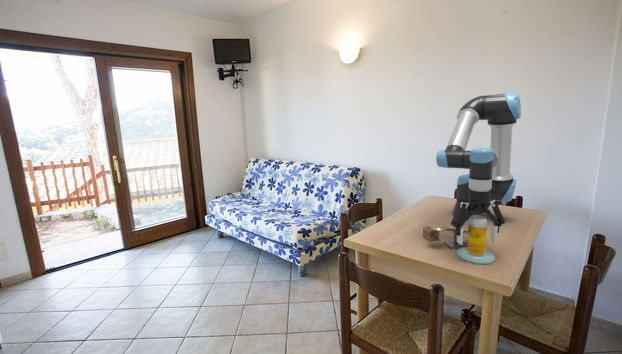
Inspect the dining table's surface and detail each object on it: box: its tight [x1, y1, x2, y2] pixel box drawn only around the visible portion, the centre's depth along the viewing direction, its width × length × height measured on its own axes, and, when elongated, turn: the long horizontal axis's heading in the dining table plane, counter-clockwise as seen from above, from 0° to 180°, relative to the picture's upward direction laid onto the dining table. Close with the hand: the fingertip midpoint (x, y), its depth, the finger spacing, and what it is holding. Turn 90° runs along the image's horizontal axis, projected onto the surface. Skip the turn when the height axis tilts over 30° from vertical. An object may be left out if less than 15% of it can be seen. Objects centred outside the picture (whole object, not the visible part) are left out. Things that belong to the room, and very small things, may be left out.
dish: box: [456, 247, 496, 265], centre depth 115 cm, size 13×13×1 cm
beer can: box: [467, 215, 488, 256], centre depth 114 cm, size 6×6×15 cm
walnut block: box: [422, 225, 440, 242], centre depth 134 cm, size 5×5×5 cm
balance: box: [430, 224, 468, 250], centre depth 126 cm, size 22×7×9 cm, turn 92°
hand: (476, 242), depth 114 cm, fingers open, 13 cm apart
